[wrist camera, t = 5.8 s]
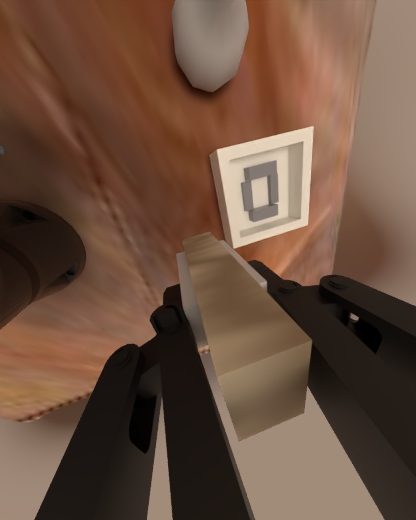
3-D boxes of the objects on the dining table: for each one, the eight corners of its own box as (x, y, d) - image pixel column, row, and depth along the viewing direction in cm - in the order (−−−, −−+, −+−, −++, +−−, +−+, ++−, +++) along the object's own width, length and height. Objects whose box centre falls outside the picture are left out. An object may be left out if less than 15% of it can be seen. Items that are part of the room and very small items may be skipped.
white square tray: (225, 241, 34) (233, 248, 30) (209, 155, 27) (216, 149, 23) (291, 220, 36) (307, 224, 32) (292, 134, 28) (313, 126, 25)
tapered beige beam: (193, 279, 15) (239, 441, 6) (181, 239, 14) (217, 377, 4) (218, 271, 16) (304, 412, 6) (209, 231, 14) (312, 340, 4)
